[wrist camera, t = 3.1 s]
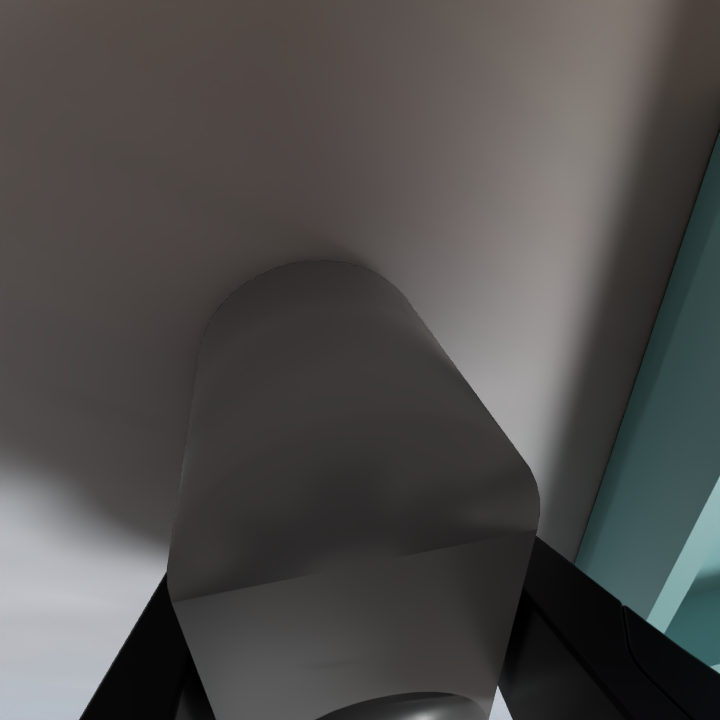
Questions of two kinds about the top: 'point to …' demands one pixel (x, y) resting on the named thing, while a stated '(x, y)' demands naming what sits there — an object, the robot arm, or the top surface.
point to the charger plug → (344, 510)
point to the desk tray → (671, 457)
